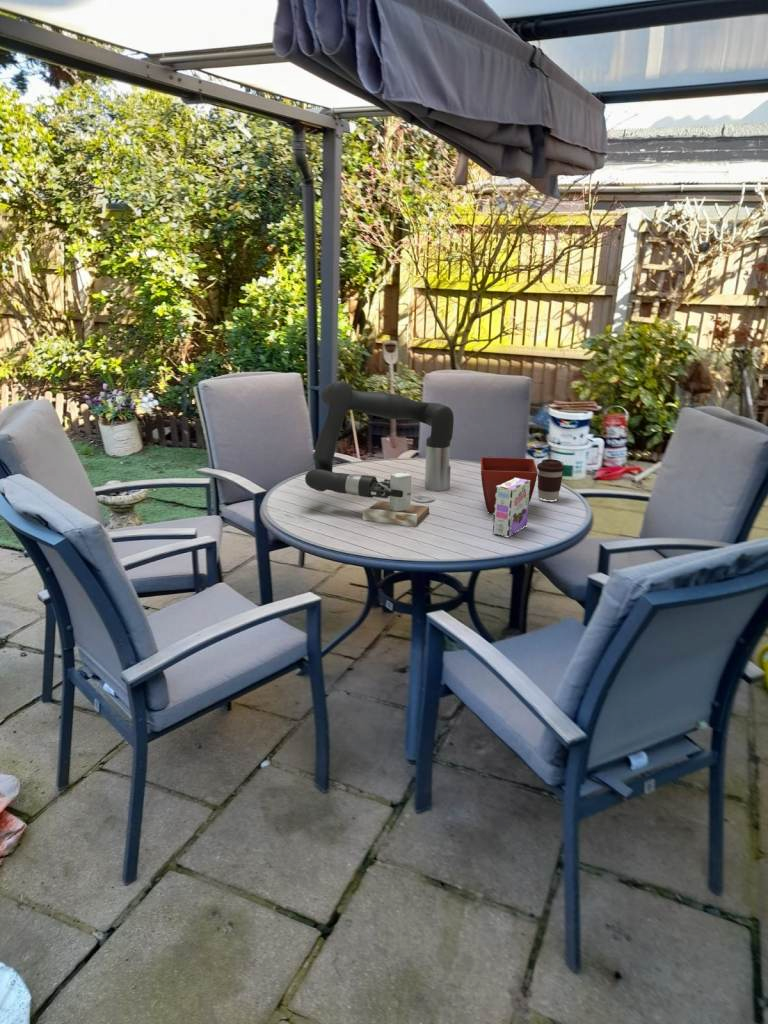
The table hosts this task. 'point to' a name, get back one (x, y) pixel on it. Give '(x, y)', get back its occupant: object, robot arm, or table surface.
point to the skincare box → (404, 484)
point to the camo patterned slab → (395, 514)
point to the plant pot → (505, 475)
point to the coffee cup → (549, 478)
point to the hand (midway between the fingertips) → (406, 491)
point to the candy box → (511, 506)
